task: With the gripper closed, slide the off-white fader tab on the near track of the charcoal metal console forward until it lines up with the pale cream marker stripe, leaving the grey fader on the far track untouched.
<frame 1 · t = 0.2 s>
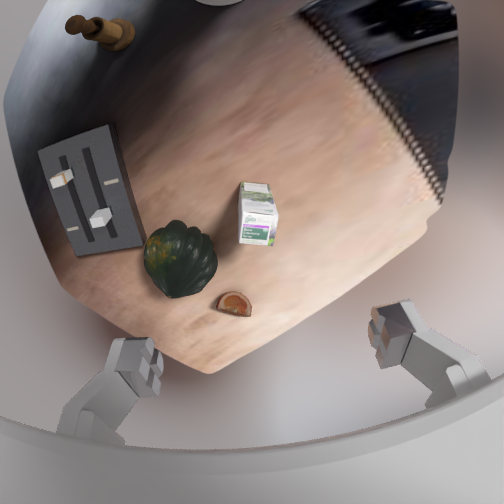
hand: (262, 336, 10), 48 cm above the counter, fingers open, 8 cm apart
squash: (185, 244, 64), on the counter
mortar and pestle: (118, 35, 39), on the counter
fruit slice: (233, 298, 73), on the counter
fader a: (61, 178, 47), point 5 cm above the counter, slide at -6.0 cm
console: (93, 192, 55), on the counter
syrup box: (253, 195, 58), on the counter
fader b: (100, 217, 53), point 5 cm above the counter, slide at 4.0 cm
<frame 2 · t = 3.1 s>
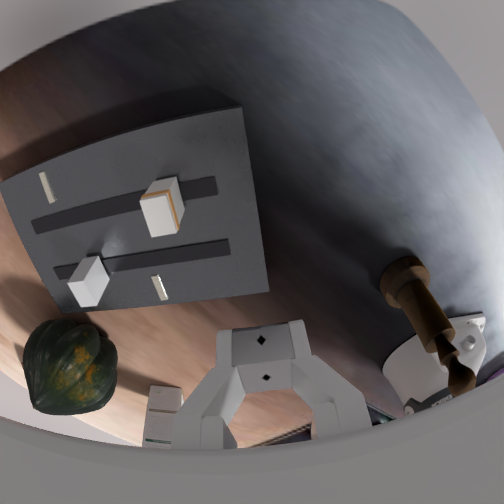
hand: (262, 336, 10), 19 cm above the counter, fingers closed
squash: (81, 337, 39), on the counter
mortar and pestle: (400, 276, 35), on the counter
fader a: (164, 205, 22), point 5 cm above the counter, slide at -6.0 cm
console: (128, 220, 28), on the counter
syrup box: (168, 392, 47), on the counter
fader b: (89, 281, 26), point 5 cm above the counter, slide at 4.0 cm
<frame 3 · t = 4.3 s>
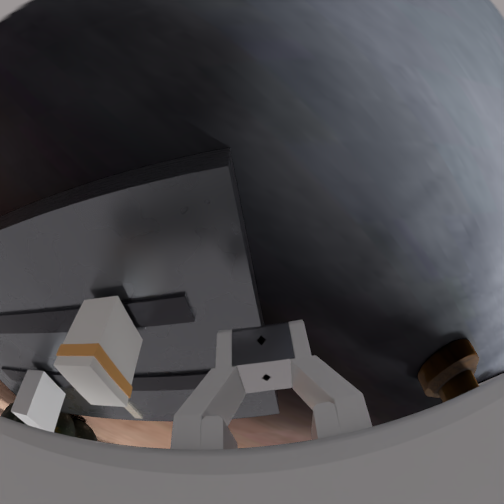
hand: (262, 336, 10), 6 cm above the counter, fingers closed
squash: (58, 415, 28), on the counter
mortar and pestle: (443, 359, 24), on the counter
fader a: (102, 351, 11), point 5 cm above the counter, slide at -6.0 cm
console: (76, 322, 18), on the counter
fader b: (38, 402, 15), point 5 cm above the counter, slide at 4.0 cm
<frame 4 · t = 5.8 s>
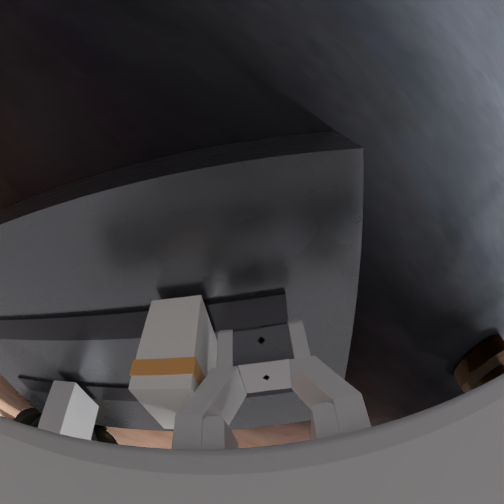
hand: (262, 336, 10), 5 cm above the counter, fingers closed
squash: (74, 422, 26), on the counter
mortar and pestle: (477, 355, 22), on the counter
fader a: (181, 364, 10), point 5 cm above the counter, slide at -5.9 cm, touching gripper
console: (116, 325, 16), on the counter
fader b: (69, 418, 14), point 5 cm above the counter, slide at 4.0 cm
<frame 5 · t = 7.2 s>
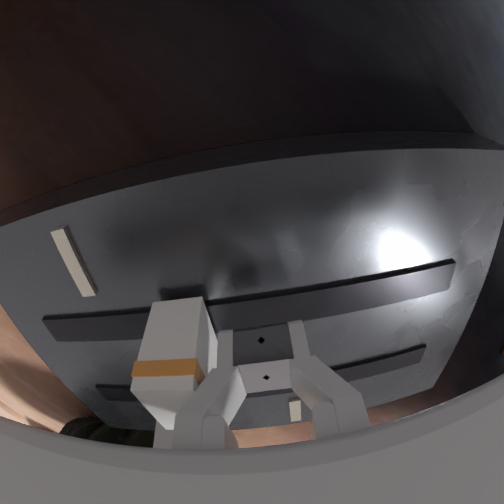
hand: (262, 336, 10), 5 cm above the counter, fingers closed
squash: (128, 429, 26), on the counter
fader a: (182, 365, 10), point 5 cm above the counter, slide at 2.1 cm, touching gripper
console: (246, 313, 16), on the counter
fader b: (184, 428, 13), point 5 cm above the counter, slide at 4.0 cm
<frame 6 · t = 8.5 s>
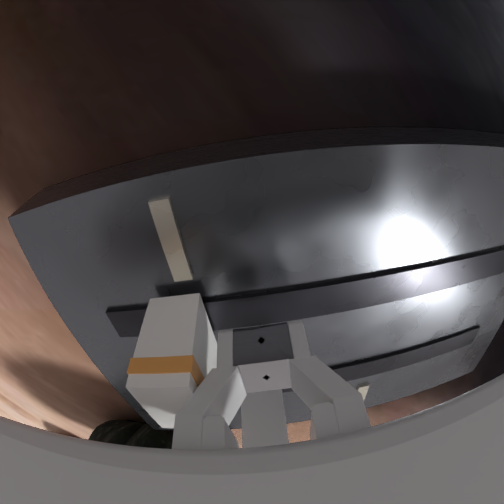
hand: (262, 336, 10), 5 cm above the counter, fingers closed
squash: (161, 430, 26), on the counter
fader a: (179, 362, 10), point 5 cm above the counter, slide at 6.5 cm, touching gripper
console: (325, 299, 16), on the counter
fader b: (266, 423, 13), point 5 cm above the counter, slide at 4.0 cm
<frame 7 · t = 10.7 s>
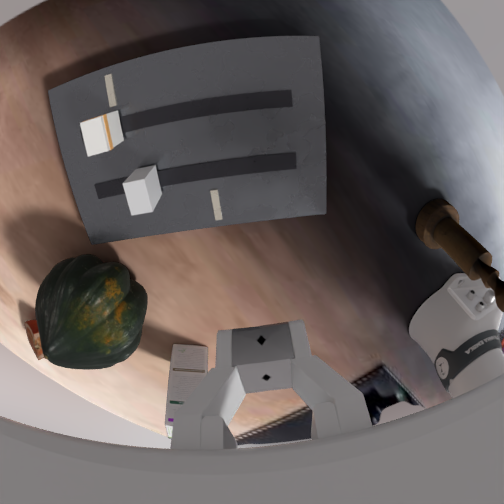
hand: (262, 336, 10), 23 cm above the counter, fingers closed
squash: (103, 284, 37), on the counter
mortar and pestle: (432, 219, 35), on the counter
fruit slice: (44, 326, 42), on the counter
fader a: (103, 132, 22), point 5 cm above the counter, slide at 6.5 cm
console: (188, 136, 28), on the counter
syrup box: (191, 354, 46), on the counter
fader b: (143, 189, 25), point 5 cm above the counter, slide at 4.0 cm
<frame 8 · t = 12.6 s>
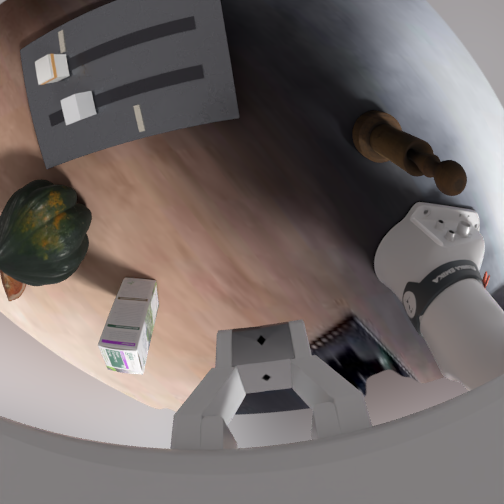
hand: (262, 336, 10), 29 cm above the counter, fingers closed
squash: (61, 215, 38), on the counter
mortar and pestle: (373, 134, 34), on the counter
fruit slice: (17, 269, 43), on the counter
fader a: (52, 68, 22), point 5 cm above the counter, slide at 6.5 cm
console: (122, 70, 28), on the counter
syrup box: (142, 290, 47), on the counter
fader b: (78, 107, 25), point 5 cm above the counter, slide at 4.0 cm
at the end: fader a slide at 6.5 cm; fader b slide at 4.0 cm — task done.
